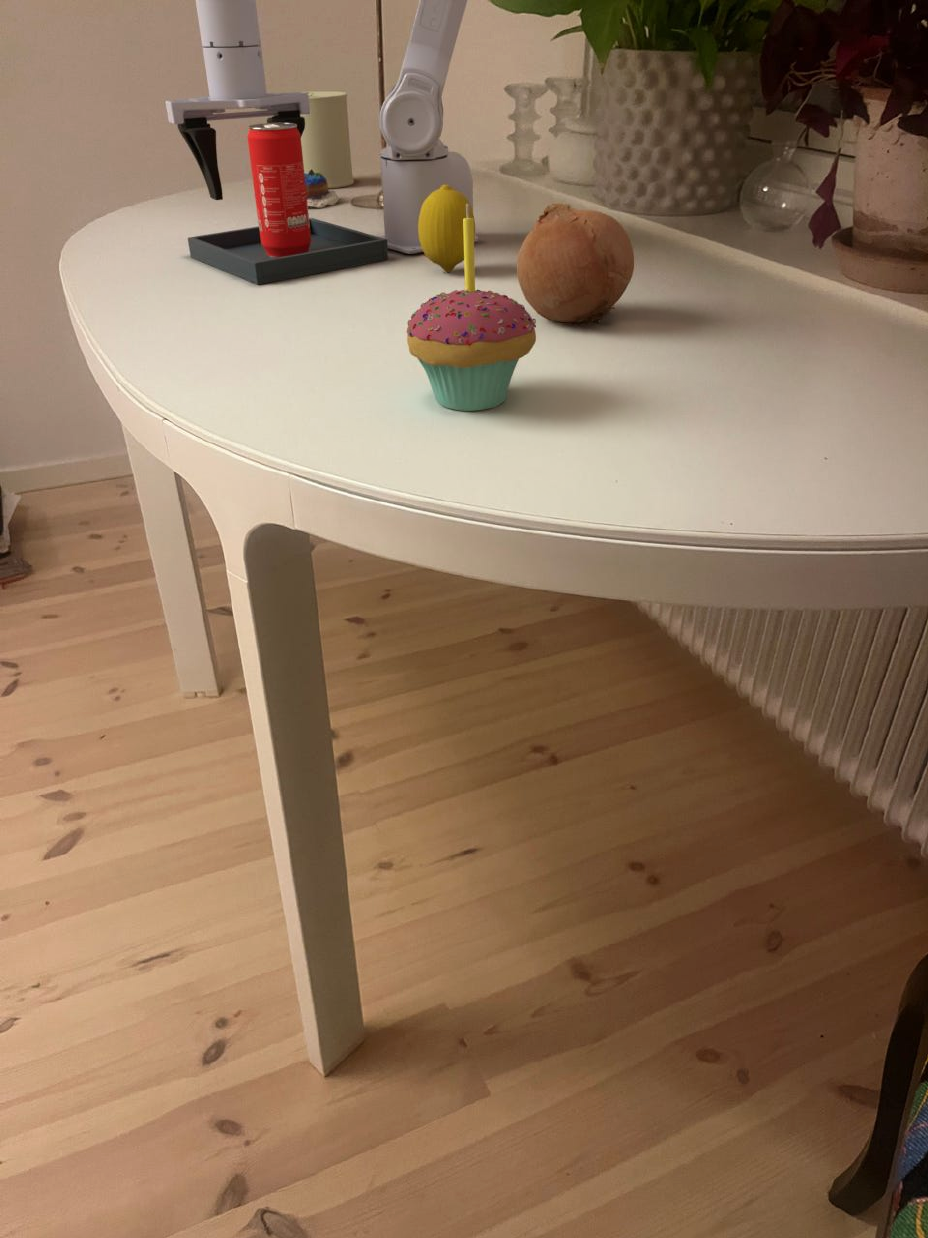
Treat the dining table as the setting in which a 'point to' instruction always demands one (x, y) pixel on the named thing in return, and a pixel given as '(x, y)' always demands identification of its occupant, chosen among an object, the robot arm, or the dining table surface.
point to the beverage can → (279, 188)
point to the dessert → (318, 190)
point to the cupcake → (470, 340)
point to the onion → (574, 264)
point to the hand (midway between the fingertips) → (251, 194)
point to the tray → (251, 262)
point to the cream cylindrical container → (327, 138)
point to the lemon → (444, 227)
